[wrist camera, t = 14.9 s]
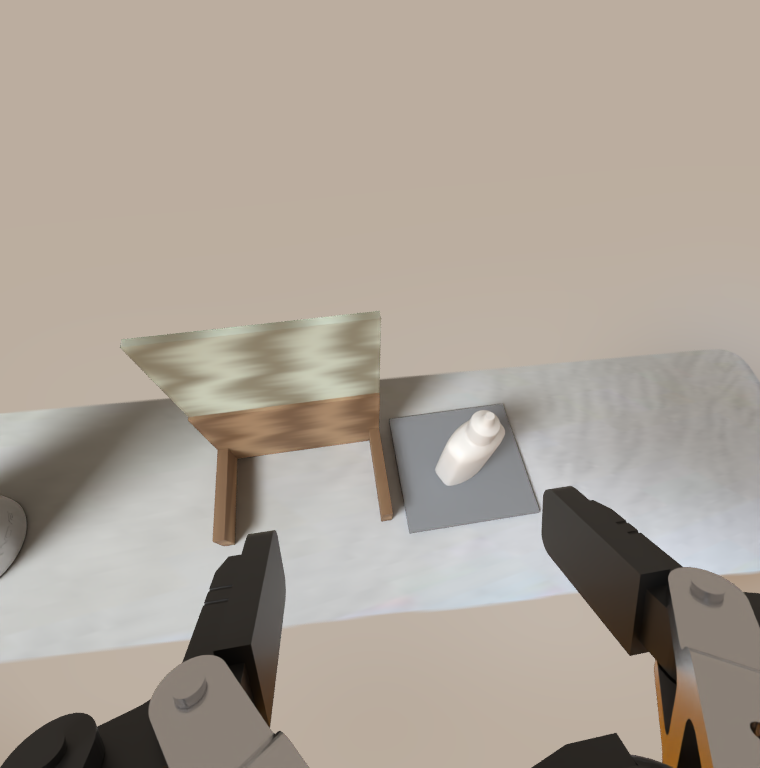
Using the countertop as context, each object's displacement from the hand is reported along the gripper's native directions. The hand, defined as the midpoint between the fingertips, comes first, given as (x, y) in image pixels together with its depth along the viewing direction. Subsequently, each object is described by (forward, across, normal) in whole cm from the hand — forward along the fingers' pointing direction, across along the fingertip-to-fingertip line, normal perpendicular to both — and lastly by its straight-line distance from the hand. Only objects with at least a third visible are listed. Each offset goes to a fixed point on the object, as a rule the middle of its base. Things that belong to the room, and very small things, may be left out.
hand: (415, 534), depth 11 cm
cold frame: (+26, +6, +13) cm, 30 cm away
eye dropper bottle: (+26, -10, +13) cm, 30 cm away
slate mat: (+26, -10, +13) cm, 31 cm away
